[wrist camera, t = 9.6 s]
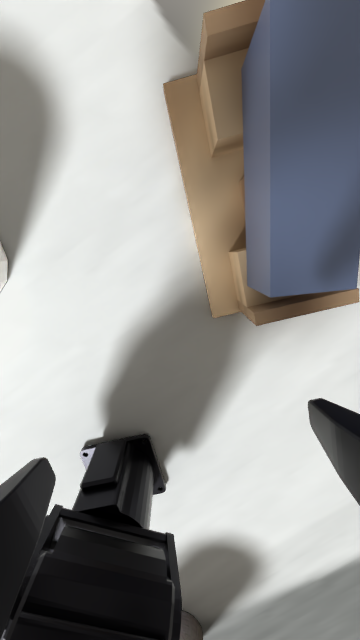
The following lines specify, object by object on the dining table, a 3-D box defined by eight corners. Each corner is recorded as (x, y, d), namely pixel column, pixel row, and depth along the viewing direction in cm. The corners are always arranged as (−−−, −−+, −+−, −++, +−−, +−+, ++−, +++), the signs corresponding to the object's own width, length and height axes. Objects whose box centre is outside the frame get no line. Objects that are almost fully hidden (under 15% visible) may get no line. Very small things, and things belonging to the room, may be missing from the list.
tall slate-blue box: (311, 279, 15) (356, 288, 12) (247, 285, 15) (270, 297, 12) (321, 59, 12) (385, -26, 9) (241, 68, 12) (269, -13, 9)
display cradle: (322, 45, 15) (391, -51, 10) (339, 285, 19) (394, 297, 14) (163, 92, 16) (157, 20, 11) (212, 315, 20) (223, 336, 15)
